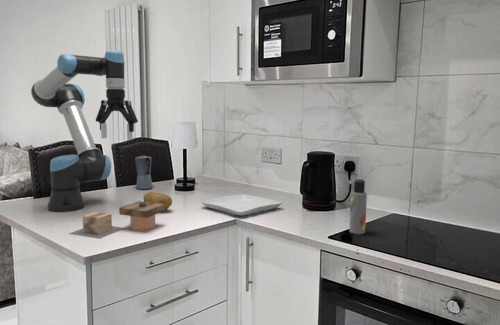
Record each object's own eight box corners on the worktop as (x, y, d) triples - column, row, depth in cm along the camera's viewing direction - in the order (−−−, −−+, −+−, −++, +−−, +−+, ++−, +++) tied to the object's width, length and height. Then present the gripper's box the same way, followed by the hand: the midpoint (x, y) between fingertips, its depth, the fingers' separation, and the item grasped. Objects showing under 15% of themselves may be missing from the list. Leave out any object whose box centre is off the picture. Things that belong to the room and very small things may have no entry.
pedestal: (83, 232, 154) (82, 216, 153) (96, 227, 160) (96, 211, 159) (98, 234, 151) (98, 218, 150) (111, 229, 157) (111, 213, 157)
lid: (119, 214, 157) (119, 203, 157) (139, 207, 168) (139, 197, 168) (146, 218, 153) (146, 207, 152) (165, 210, 164) (164, 200, 163)
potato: (163, 215, 180) (163, 196, 179) (138, 210, 187) (138, 193, 186) (177, 210, 189) (177, 192, 188) (153, 206, 196) (153, 189, 195)
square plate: (283, 209, 194) (283, 201, 193) (240, 220, 175) (240, 211, 174) (242, 200, 213) (242, 192, 212) (199, 208, 194) (199, 200, 193)
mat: (68, 234, 152) (68, 233, 152) (96, 224, 165) (96, 223, 165) (99, 239, 147) (99, 238, 147) (125, 229, 159) (125, 228, 159)
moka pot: (146, 185, 246) (146, 151, 243) (159, 189, 234) (158, 153, 231) (131, 187, 240) (130, 152, 237) (143, 191, 228) (142, 154, 225)
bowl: (125, 229, 159) (125, 214, 158) (140, 223, 167) (140, 208, 166) (146, 232, 156) (145, 216, 155) (159, 226, 164) (159, 211, 163)
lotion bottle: (367, 232, 159) (370, 179, 157) (360, 235, 155) (363, 181, 153) (353, 229, 163) (356, 178, 161) (346, 232, 159) (348, 179, 156)
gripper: (85, 88, 180) (87, 138, 183) (134, 88, 171) (135, 140, 174) (98, 89, 187) (99, 137, 190) (145, 89, 178) (146, 139, 181)
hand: (116, 139), depth 182 cm, fingers open, 13 cm apart
